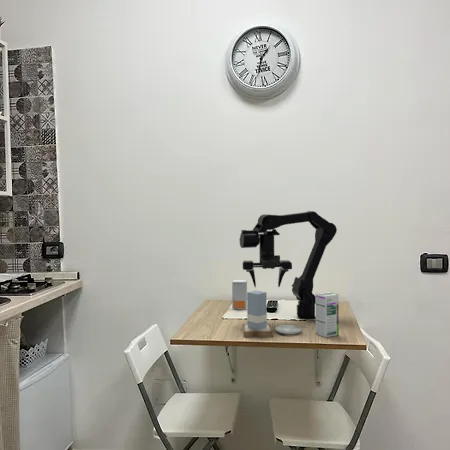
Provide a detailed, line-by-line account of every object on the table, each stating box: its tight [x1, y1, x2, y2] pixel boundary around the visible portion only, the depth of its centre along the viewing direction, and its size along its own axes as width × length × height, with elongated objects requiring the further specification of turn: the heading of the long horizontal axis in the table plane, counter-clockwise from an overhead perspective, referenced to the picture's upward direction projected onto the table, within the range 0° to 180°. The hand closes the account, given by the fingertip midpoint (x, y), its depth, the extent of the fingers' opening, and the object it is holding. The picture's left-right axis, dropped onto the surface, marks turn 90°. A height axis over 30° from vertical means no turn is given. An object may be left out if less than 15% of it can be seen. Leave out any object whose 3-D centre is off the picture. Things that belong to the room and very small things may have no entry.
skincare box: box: [231, 279, 248, 310], centre depth 207 cm, size 6×4×12 cm
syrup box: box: [314, 291, 340, 338], centre depth 167 cm, size 6×6×14 cm
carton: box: [246, 289, 268, 330], centre depth 170 cm, size 5×5×12 cm
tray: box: [242, 323, 274, 338], centre depth 170 cm, size 10×10×2 cm
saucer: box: [275, 324, 302, 335], centre depth 170 cm, size 9×9×2 cm
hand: (267, 287), depth 186 cm, fingers open, 9 cm apart
